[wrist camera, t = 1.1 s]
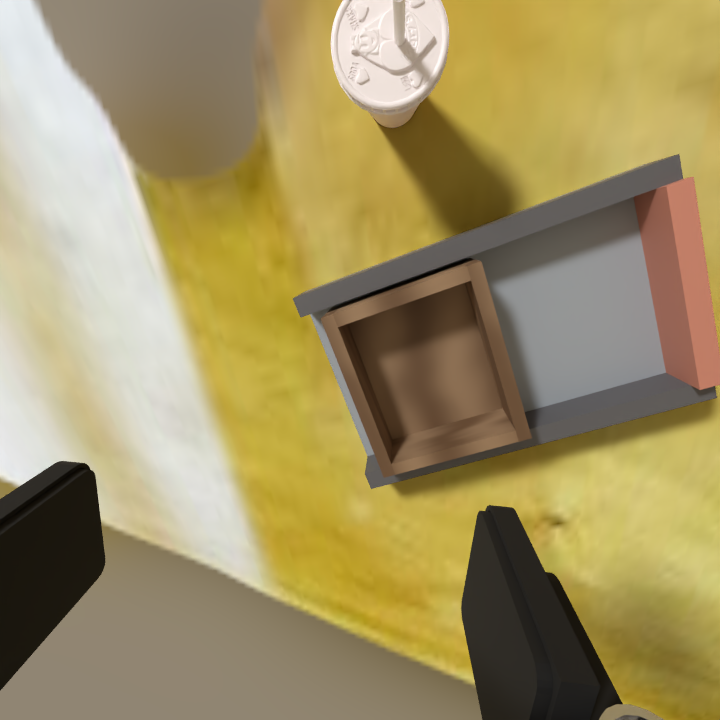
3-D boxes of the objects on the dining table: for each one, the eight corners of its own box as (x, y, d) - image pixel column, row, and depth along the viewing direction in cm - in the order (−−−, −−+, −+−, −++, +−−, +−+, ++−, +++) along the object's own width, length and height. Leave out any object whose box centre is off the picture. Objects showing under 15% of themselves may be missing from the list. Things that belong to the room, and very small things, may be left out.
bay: (644, 164, 30) (689, 151, 25) (682, 380, 34) (726, 402, 30) (304, 291, 36) (289, 300, 31) (374, 464, 40) (370, 495, 35)
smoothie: (434, 145, 31) (459, 76, 18) (352, 149, 32) (316, 87, 19) (436, 46, 29) (465, -111, 16) (349, 53, 30) (306, -93, 17)
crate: (469, 257, 32) (481, 261, 28) (514, 411, 36) (531, 438, 31) (331, 307, 35) (320, 319, 30) (386, 447, 38) (383, 477, 33)
